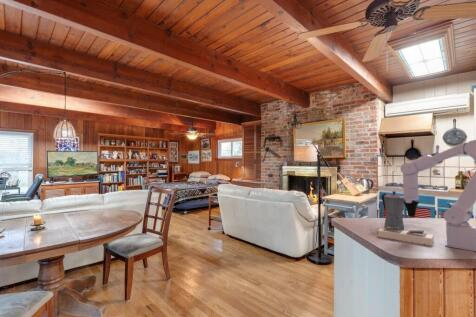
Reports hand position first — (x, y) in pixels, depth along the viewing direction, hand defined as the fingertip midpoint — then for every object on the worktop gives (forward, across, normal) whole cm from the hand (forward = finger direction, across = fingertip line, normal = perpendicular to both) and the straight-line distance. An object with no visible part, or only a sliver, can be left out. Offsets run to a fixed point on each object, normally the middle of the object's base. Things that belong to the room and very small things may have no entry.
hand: (411, 216), depth 113 cm
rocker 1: (+5, +7, -6) cm, 11 cm away
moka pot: (+10, -12, -10) cm, 18 cm away
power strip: (+9, +7, -2) cm, 12 cm away
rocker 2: (+5, +7, +2) cm, 9 cm away
